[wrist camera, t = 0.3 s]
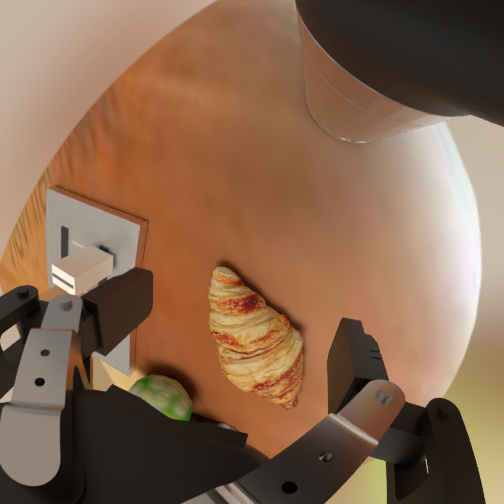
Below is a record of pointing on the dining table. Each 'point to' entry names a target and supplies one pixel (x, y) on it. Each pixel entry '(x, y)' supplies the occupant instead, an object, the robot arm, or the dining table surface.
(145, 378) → the decorative ball
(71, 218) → the fader panel
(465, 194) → the dining table surface
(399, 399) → the robot arm
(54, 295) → the orange fader
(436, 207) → the dining table surface
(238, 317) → the croissant
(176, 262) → the dining table surface
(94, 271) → the cream fader
